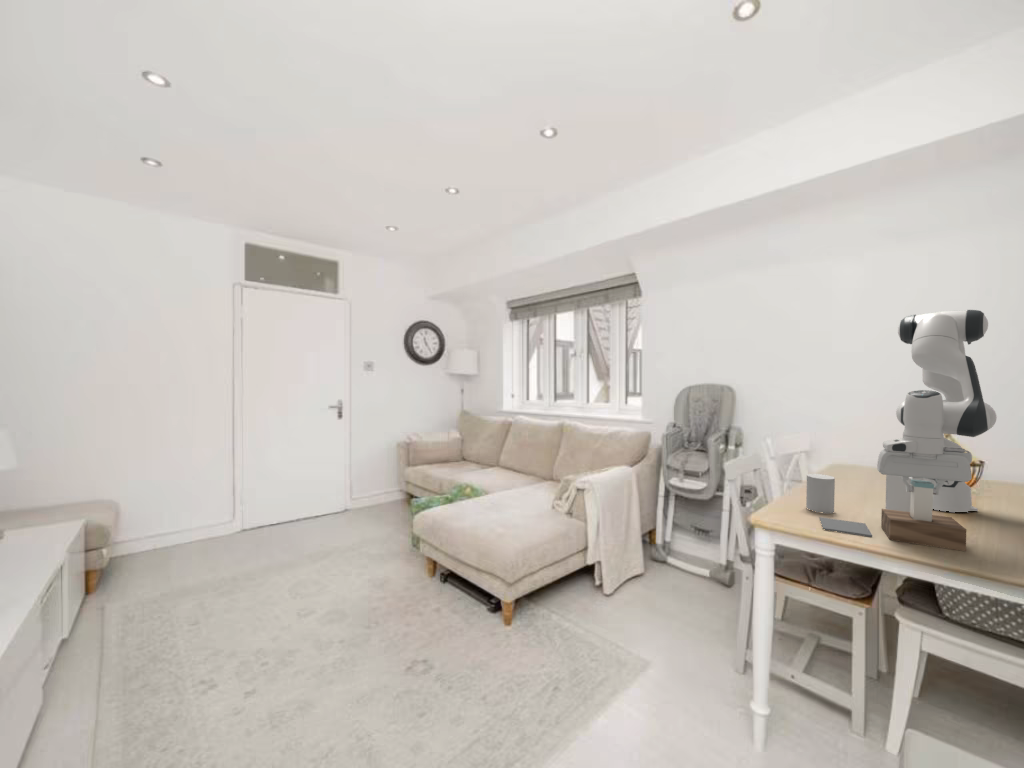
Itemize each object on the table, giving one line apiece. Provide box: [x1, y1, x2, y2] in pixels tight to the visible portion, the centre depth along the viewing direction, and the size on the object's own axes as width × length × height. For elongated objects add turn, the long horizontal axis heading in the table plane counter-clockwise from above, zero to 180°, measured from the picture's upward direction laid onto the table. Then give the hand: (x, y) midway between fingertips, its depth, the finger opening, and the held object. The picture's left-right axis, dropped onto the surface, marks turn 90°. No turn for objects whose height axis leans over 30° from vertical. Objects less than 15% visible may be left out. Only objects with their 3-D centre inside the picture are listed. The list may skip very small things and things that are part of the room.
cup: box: [805, 473, 836, 514], centre depth 156 cm, size 8×8×12 cm
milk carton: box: [885, 475, 925, 512], centre depth 145 cm, size 7×7×19 cm
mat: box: [819, 516, 873, 538], centre depth 138 cm, size 12×12×1 cm
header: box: [880, 508, 967, 552], centre depth 129 cm, size 12×16×6 cm
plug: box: [910, 479, 934, 522], centre depth 129 cm, size 4×4×11 cm
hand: (921, 492), depth 129 cm, fingers closed on plug, 4 cm apart
